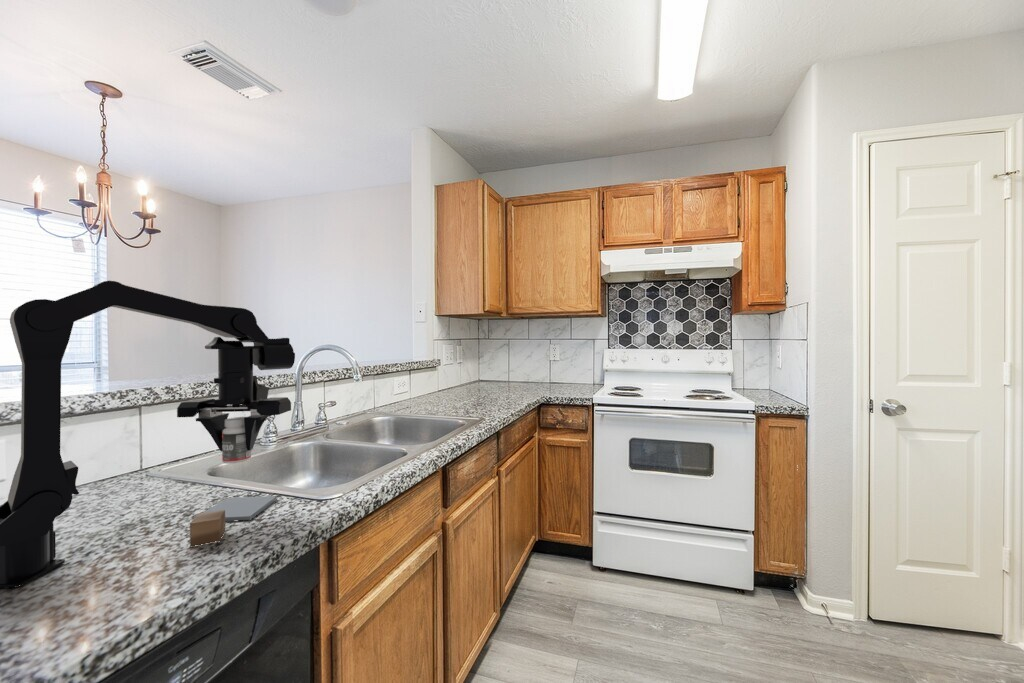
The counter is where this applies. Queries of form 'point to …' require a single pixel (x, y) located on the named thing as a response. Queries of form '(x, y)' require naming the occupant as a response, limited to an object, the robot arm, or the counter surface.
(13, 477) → the robot arm
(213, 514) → the walnut block
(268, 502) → the coaster
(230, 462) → the pill bottle
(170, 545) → the counter surface
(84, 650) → the counter surface
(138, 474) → the counter surface
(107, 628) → the counter surface
